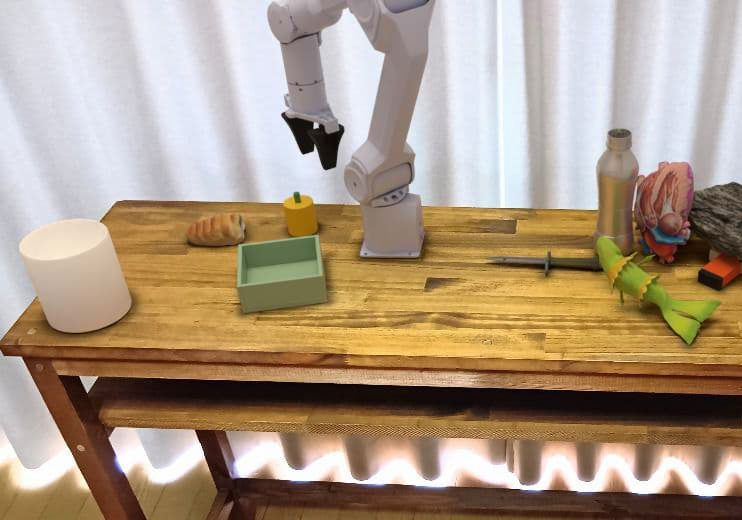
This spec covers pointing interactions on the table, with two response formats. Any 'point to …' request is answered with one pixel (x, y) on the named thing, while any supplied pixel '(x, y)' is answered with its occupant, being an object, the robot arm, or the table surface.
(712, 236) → the rock
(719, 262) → the toy
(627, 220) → the plastic bottle
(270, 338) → the table surface
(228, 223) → the pastry
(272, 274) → the basket
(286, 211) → the pepper
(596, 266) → the knife
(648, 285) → the toy
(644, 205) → the anatomical model
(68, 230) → the cup
